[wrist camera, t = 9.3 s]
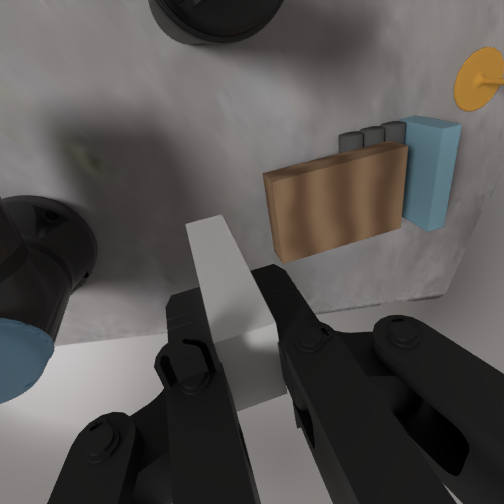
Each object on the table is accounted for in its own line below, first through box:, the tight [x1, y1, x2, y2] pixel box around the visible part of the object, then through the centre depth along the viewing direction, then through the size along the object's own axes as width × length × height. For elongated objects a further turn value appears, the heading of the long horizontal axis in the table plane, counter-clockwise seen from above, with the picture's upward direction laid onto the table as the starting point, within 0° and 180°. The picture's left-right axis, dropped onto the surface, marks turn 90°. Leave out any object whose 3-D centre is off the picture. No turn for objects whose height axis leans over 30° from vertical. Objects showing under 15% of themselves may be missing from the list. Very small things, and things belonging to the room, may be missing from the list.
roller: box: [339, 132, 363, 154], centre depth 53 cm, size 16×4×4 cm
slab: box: [263, 141, 408, 264], centre depth 48 cm, size 20×13×4 cm, turn 99°
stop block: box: [399, 116, 462, 232], centre depth 52 cm, size 3×16×9 cm, turn 9°
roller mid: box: [360, 126, 385, 147], centre depth 53 cm, size 16×4×4 cm
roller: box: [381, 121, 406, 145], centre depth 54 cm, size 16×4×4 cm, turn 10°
